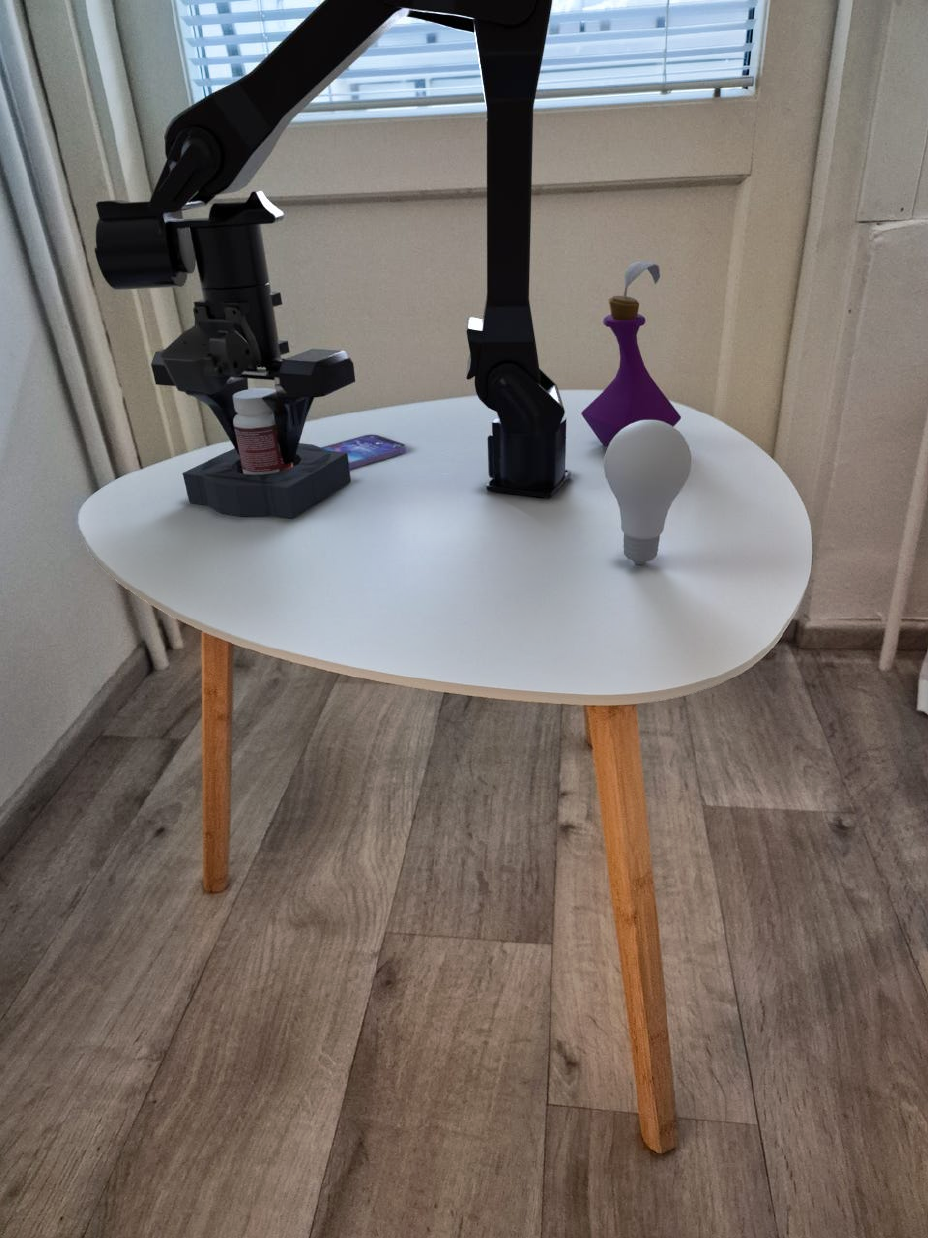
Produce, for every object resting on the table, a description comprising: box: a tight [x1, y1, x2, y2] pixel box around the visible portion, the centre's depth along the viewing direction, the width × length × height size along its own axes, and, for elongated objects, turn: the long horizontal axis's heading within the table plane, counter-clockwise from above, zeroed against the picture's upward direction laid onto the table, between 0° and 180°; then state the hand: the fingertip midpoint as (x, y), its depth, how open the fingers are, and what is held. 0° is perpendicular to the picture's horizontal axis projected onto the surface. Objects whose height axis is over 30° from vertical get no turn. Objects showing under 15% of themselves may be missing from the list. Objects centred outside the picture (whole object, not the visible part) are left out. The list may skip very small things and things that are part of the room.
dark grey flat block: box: [182, 442, 352, 520], centre depth 77 cm, size 12×12×3 cm
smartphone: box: [320, 433, 407, 470], centre depth 85 cm, size 7×1×15 cm
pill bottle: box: [233, 387, 293, 475], centre depth 75 cm, size 5×5×8 cm
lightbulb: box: [603, 420, 692, 565], centre depth 58 cm, size 6×6×11 cm
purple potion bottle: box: [580, 261, 682, 447], centre depth 80 cm, size 8×8×18 cm
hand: (267, 459), depth 76 cm, fingers closed on pill bottle, 5 cm apart
